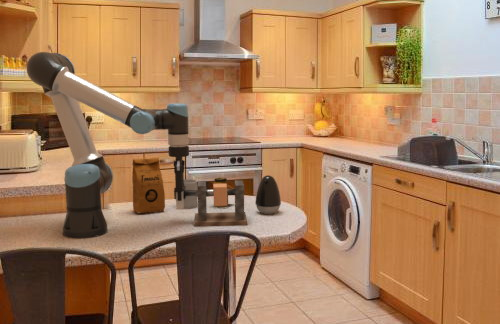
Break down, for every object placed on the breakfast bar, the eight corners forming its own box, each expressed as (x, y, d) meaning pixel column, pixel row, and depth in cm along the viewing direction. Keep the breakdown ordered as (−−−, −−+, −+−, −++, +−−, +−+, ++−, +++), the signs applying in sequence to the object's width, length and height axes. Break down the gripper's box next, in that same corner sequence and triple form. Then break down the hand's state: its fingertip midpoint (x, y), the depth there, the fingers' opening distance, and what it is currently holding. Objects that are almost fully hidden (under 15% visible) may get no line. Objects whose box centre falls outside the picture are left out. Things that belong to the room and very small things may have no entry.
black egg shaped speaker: (252, 215, 214) (252, 177, 212) (258, 209, 224) (258, 172, 222) (278, 216, 212) (278, 178, 209) (282, 210, 222) (283, 173, 219)
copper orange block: (209, 207, 228) (209, 179, 227) (220, 203, 236) (219, 175, 234) (224, 208, 225) (224, 180, 223) (234, 204, 232) (234, 177, 231)
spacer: (213, 205, 201) (213, 187, 200) (213, 201, 208) (213, 183, 207) (227, 205, 201) (227, 187, 200) (226, 201, 208) (226, 183, 207)
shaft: (174, 200, 201) (174, 188, 200) (175, 197, 205) (174, 186, 205) (239, 199, 203) (239, 187, 202) (238, 196, 207) (238, 185, 206)
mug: (198, 208, 226) (198, 182, 225) (178, 209, 225) (177, 183, 223) (195, 202, 238) (195, 177, 236) (176, 203, 236) (175, 178, 235)
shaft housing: (194, 226, 198) (193, 187, 196) (195, 216, 212) (194, 180, 210) (247, 225, 199) (247, 186, 197) (245, 215, 213) (244, 179, 211)
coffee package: (166, 212, 219) (165, 158, 216) (135, 215, 215) (133, 160, 211) (161, 207, 228) (159, 155, 225) (131, 210, 224) (129, 157, 221)
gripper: (187, 148, 192) (189, 212, 195) (189, 142, 209) (191, 201, 213) (166, 148, 191) (168, 213, 195) (170, 142, 209) (171, 202, 212)
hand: (180, 207), depth 204 cm, fingers closed on shaft, 4 cm apart
